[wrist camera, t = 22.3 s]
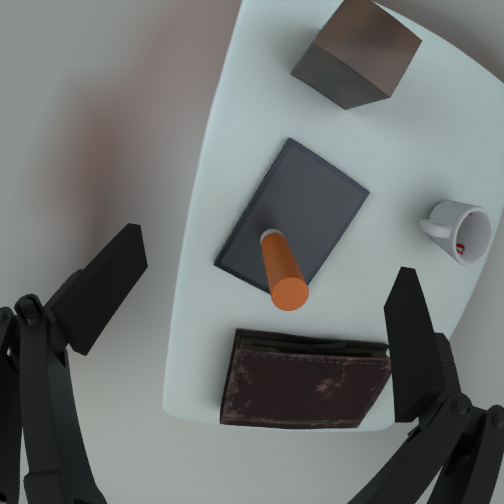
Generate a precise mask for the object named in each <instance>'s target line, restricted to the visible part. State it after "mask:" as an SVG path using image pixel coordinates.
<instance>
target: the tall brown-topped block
mask: <svg viewBox="0 0 504 504" xmlns="http://www.w3.org/2000/svg"><path fill="white" fill-rule="evenodd" d="M421 42H422V40H421V39H420V38H418V37H417V36H416V35H415V34H414V33H413V32H411V31H410V30H409V29H408V28H407V27H405V26H404V25H403V24H402V23H400V22H399V21H398V20H397V19H395V18H394V17H393V16H391V15H390V14H389V13H387V12H386V11H385V10H383V9H382V8H381V7H379V6H378V5H376V4H375V3H374V2H372V1H371V0H344V1H343V2H342V3H341V5H340V6H339V7H338V8H337V10H336V11H335V12H334V13H333V15H332V16H331V17H330V19H329V20H328V21H327V22H326V24H325V25H324V26H323V28H322V29H321V30H320V32H319V33H318V35H317V36H316V37H315V39H314V40H313V42H312V43H311V44H310V46H309V47H308V49H307V50H306V52H305V53H304V54H303V56H302V57H301V59H300V60H299V62H298V63H297V65H296V66H295V68H294V69H293V71H292V72H291V73H290V74H291V75H293V76H294V77H296V78H298V79H299V80H301V81H302V82H304V83H306V84H307V85H309V86H310V87H312V88H314V89H315V90H317V91H318V92H320V93H321V94H323V95H324V96H326V97H327V98H329V99H330V100H332V101H333V102H335V103H336V104H338V105H339V106H340V107H342V108H343V109H345V110H347V109H351V108H354V107H357V106H361V105H364V104H368V103H372V102H375V101H379V100H383V99H387V98H390V97H391V95H392V93H393V92H394V90H395V88H396V86H397V85H398V83H399V81H400V80H401V78H402V76H403V74H404V73H405V71H406V69H407V67H408V65H409V64H410V62H411V60H412V58H413V57H414V55H415V53H416V51H417V49H418V48H419V46H420V44H421Z"/></svg>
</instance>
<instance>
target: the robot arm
mask: <svg viewBox="0 0 504 504" xmlns="http://www.w3.org/2000/svg"><path fill="white" fill-rule="evenodd" d="M147 267H148V265H147V260H146V255H145V249H144V244H143V238H142V232H141V226H140V225H137V224H130V223H128V224H127V225H126V226H125V227H124V228H123V229H122V230H121V231H120V232H119V233H118V234H117V235H116V236H115V237H114V238H113V239H112V240H111V241H110V242H109V243H108V244H107V245H106V246H105V247H104V248H103V249H102V250H101V252H100V253H99V254H98V255H97V256H96V257H95V258H94V259H93V260H92V261H91V262H90V263H89V264H88V265H87V266H86V268H85V269H84V270H82V269H79V270H78V271H76V272H75V273H73V274H72V275H71V276H70V277H69V278H68V279H67V280H66V281H65V283H63V285H62V286H61V287H60V289H58V290H57V292H56V293H55V294H54V295H53V296H52V297H51V298H50V300H49V301H48V302H47V303H46V304H45V305H44V307H43V306H42V304H41V302H40V300H39V298H38V297H37V296H36V295H34V294H27V295H25V296H23V297H21V298H20V299H19V300H18V301H17V302H16V304H15V306H14V309H15V311H16V313H17V315H14V313H13V311H12V310H11V309H10V308H9V307H2V308H0V504H18V501H19V490H20V451H21V437H22V426H23V433H24V441H25V448H26V455H27V461H28V465H29V473H28V474H27V475H26V476H25V477H24V480H23V481H24V489H25V493H26V497H27V501H28V504H107V502H106V500H105V498H104V496H103V494H102V493H101V492H100V490H99V489H98V488H97V486H96V484H95V481H94V478H93V475H92V472H91V468H90V465H89V462H88V458H87V455H86V451H85V447H84V443H83V439H82V435H81V430H80V426H79V422H78V417H77V412H76V407H75V401H74V396H73V389H72V383H71V377H70V368H69V360H68V352H67V350H66V348H65V347H66V346H67V345H68V343H69V344H70V345H71V347H72V349H73V350H74V351H75V352H77V353H80V354H82V355H84V356H86V355H87V354H88V352H89V351H90V349H91V348H92V346H93V344H94V343H95V341H96V339H97V338H98V337H99V335H100V334H101V332H102V331H103V329H104V328H105V326H106V325H107V323H108V322H109V321H110V319H111V318H112V316H113V315H114V313H115V312H116V310H117V309H118V308H119V306H120V305H121V303H122V302H123V300H124V299H125V297H126V296H127V295H128V293H129V292H130V291H131V289H132V288H133V286H134V285H135V284H136V282H137V281H138V280H139V278H140V277H141V275H142V274H143V273H144V271H145V270H146V268H147ZM384 314H385V320H386V327H387V335H388V343H389V351H390V360H391V370H392V381H393V394H394V411H395V422H405V423H406V422H412V421H414V420H415V419H416V418H417V417H418V418H419V424H418V425H417V426H416V427H415V428H414V429H413V430H411V431H410V432H409V433H408V435H409V436H408V438H407V439H406V440H405V442H404V443H403V444H402V445H401V447H400V448H399V449H398V450H397V451H396V453H395V454H394V455H393V456H392V457H391V459H390V460H389V461H388V462H387V463H386V464H385V466H384V467H383V468H382V469H381V470H380V471H379V472H378V473H377V474H376V476H375V477H373V478H372V480H371V481H370V482H369V483H368V484H367V485H366V486H365V487H364V488H363V489H362V490H361V491H360V492H359V493H358V494H357V495H356V496H355V497H354V498H353V499H352V500H351V501H349V502H348V503H347V504H415V503H416V502H417V500H418V499H419V498H420V496H421V495H422V494H423V493H424V491H425V490H426V489H427V487H428V486H429V484H430V483H431V481H432V480H433V479H434V477H435V476H436V474H437V473H438V471H439V470H440V469H441V467H442V466H443V467H442V469H441V472H440V474H439V477H438V480H437V482H436V484H435V486H434V489H433V491H432V493H431V495H430V498H429V500H428V502H427V504H489V503H490V500H491V497H492V494H493V491H494V488H495V485H496V481H497V478H498V473H499V470H500V466H501V462H502V458H503V453H504V408H503V407H502V406H500V405H494V406H492V407H491V408H489V409H488V410H484V409H481V408H478V407H474V406H472V403H471V401H470V399H469V398H468V397H467V396H466V395H465V394H463V393H462V392H461V389H460V384H459V379H458V375H457V370H456V366H455V363H454V358H453V355H452V351H451V347H450V343H449V341H448V340H447V338H446V337H445V335H444V334H443V333H436V332H434V330H433V326H432V322H431V319H430V315H429V312H428V308H427V305H426V302H425V298H424V295H423V292H422V289H421V286H420V283H419V280H418V277H417V274H416V271H415V269H413V268H407V267H401V268H400V270H399V273H398V275H397V278H396V280H395V283H394V285H393V287H392V290H391V292H390V294H389V297H388V299H387V301H386V303H385V306H384ZM8 349H9V350H10V353H9V355H7V351H8Z"/></svg>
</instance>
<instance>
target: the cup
mask: <svg viewBox="0 0 504 504" xmlns="http://www.w3.org/2000/svg"><path fill="white" fill-rule="evenodd" d="M419 228H420V230H421V231H423V232H424V233H426V234H428V235H430V236H431V238H432V239H433V240H434V242H435V243H436V244H438V245H439V246H440V247H441V248H442V249H443V250H445V251H446V252H447V253H448V254H449V255H450V256H451V257H453V258H454V259H455V260H456V261H457V262H458V263H460V264H461V265H464V266H470V265H474V264H476V263H477V262H479V261H480V260H481V259H482V258H483V257H484V255H485V254H486V252H487V251H488V249H489V246H490V244H491V240H492V235H493V224H492V220H491V217H490V215H489V213H488V212H487V211H486V210H485V209H484V208H482V207H480V206H476V205H471V204H466V203H460V202H455V201H443V202H441V203H439V204H437V205H436V206H435V207H434V209H433V210H432V212H431V214H430V216H429V219H421V220H420V223H419Z"/></svg>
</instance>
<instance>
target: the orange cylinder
mask: <svg viewBox="0 0 504 504" xmlns="http://www.w3.org/2000/svg"><path fill="white" fill-rule="evenodd" d="M260 243H261V248H262V253H263V258H264V263H265V268H266V273H267V278H268V283H269V288H270V293H271V298H272V301H273V303H274V304H275V306H276V307H278V308H279V309H282V310H286V311H292V310H295V309H298V308H300V307H301V306H302V305H303V304H304V303H305V302H306V300H307V298H308V295H309V290H308V287H307V284H306V282H305V280H304V278H303V276H302V273H301V271H300V269H299V267H298V265H297V263H296V260H295V258H294V256H293V254H292V252H291V250H290V248H289V245H288V243H287V241H286V239H285V237H284V235H283V233H282V232H281V231H279V230H277V229H268V230H266V231H265V232H264V233H263V234H262V236H261V238H260Z"/></svg>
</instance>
